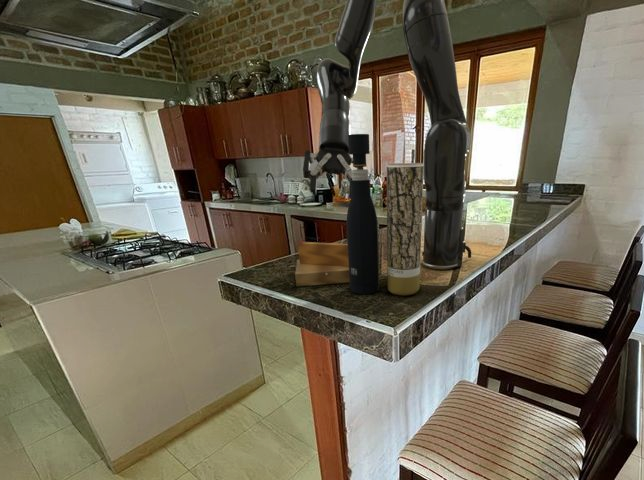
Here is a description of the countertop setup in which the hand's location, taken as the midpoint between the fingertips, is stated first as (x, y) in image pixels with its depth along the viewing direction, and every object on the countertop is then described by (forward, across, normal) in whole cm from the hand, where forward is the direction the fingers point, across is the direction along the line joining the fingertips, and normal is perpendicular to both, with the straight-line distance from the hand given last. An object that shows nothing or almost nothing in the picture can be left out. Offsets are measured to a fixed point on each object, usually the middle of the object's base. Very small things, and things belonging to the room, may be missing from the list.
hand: (332, 194), depth 79 cm
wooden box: (+18, -1, +8) cm, 19 cm away
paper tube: (+24, +16, -4) cm, 29 cm away
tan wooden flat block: (+15, -1, +6) cm, 16 cm away
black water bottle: (+23, +8, -1) cm, 25 cm away
